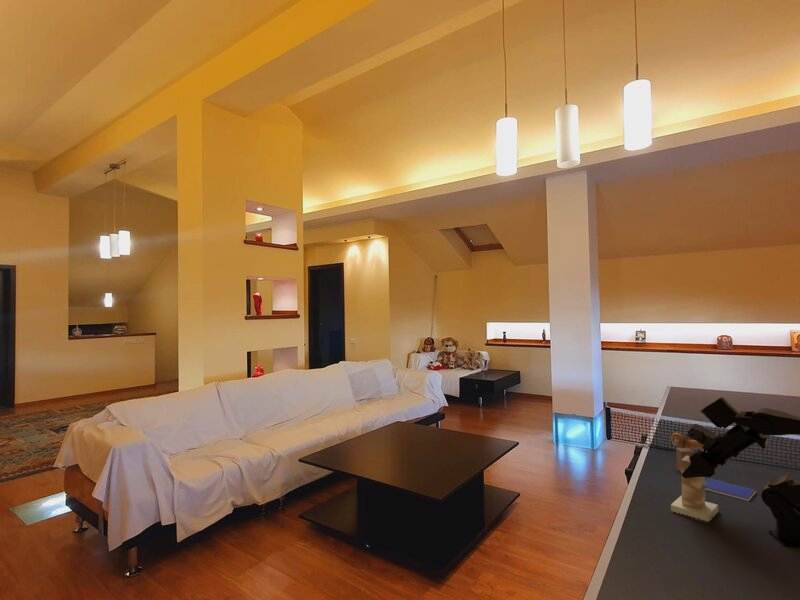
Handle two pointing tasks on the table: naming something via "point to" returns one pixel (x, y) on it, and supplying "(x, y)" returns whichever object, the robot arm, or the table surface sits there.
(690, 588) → the table surface
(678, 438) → the lion figurine
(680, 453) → the wooden block
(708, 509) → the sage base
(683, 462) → the maple post
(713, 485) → the hard drive
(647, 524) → the table surface
